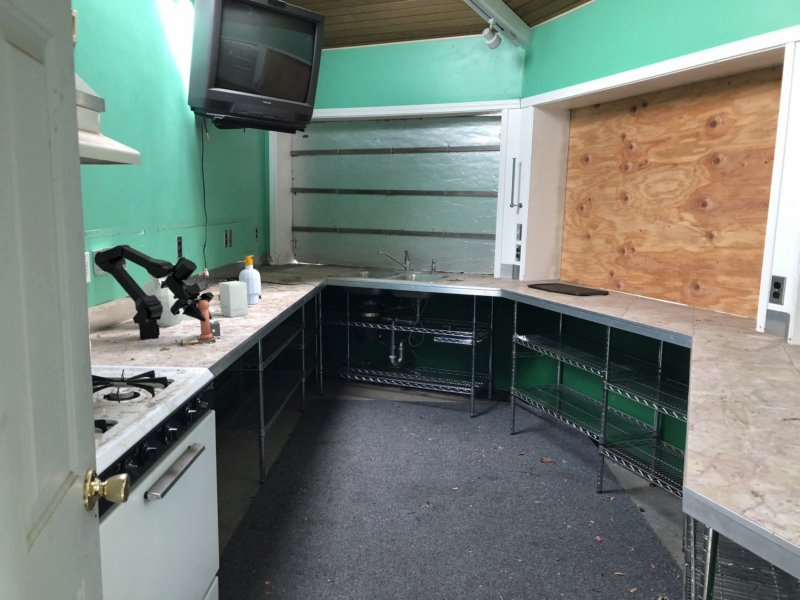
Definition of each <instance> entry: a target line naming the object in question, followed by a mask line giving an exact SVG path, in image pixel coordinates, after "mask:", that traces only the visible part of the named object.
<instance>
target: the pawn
mask: <svg viewBox="0 0 800 600" xmlns="http://www.w3.org/2000/svg"><path fill="white" fill-rule="evenodd" d="M198 308H199V311H200V312H201V313H202V315H203V316H204V317H205V319H206V321H205V322H203V321H201V320H199V322H200V324H199V325H200V334H199V337H200V339H201V340H207V339H212V338H213V337H212V333H210V322H211V320H209V312H210V309H209V308H210V302H209V303H208V301H206V300H202V301H200V302H199V303H198Z"/></svg>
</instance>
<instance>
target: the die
mask: <svg viewBox="0 0 800 600" xmlns="http://www.w3.org/2000/svg"><path fill="white" fill-rule="evenodd" d="M210 333H212V336H220V337H221V325H220V322H219V321H218V320H217V321H210Z"/></svg>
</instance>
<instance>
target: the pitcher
mask: <svg viewBox="0 0 800 600" xmlns="http://www.w3.org/2000/svg"><path fill="white" fill-rule="evenodd" d="M172 264H173V265H176V263H172ZM148 275H149V276H150V279H148V281H145V283H144V285H143V286H142V287H141V289H142V290H143V291H144V292H145V293H146V294H147V295H148V296H151V295H155V296H156V297H157V299H158V300H159V301H161V302H162V303H161V304H162V306H163V312H162V315H161V319H160V320H157V324H159V327H160V326H166V327H173V325H174V326H177V324H178V325H180V323H181V322H182V321H183V320H184V319H185V318H186V317H187V315H183V314H182V313H183V312H184V310H183V308H181V309H179V311H180V313H179V314H178V315H173V314H172V313H171V311H170V308H171V307H172V306H173V304H174V303H175V302H176V301H177V300H178V299H174V298H173V297H174V294H173V293H172V292H171V291H170V290H169V289H168V287H167V288H163V289H161V281H165V279H166V278H167V277H165V278H160V279H157V278H154V277H153V276H152V275H150V274H149V273H148Z"/></svg>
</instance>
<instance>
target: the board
mask: <svg viewBox="0 0 800 600" xmlns="http://www.w3.org/2000/svg"><path fill="white" fill-rule="evenodd" d="M212 337H213V338H212V339H207V340H201V339H200V336H198V337H187V338H181V339H180V343H181V342H182V343H181V345H183V346H182V347H187V346H186V345H191V346H196V345H195V344H199V345H204V344H203V343H208V344H211V343H210V342H216V343H217V341H216V337H214V336H212Z"/></svg>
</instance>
